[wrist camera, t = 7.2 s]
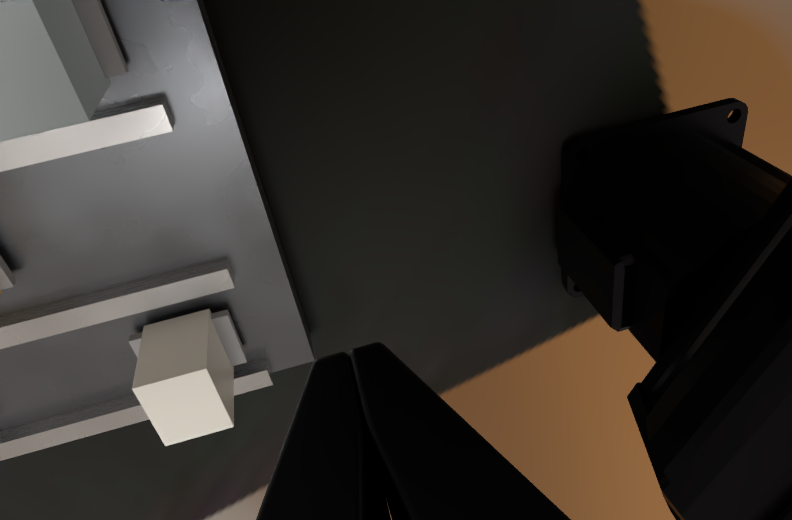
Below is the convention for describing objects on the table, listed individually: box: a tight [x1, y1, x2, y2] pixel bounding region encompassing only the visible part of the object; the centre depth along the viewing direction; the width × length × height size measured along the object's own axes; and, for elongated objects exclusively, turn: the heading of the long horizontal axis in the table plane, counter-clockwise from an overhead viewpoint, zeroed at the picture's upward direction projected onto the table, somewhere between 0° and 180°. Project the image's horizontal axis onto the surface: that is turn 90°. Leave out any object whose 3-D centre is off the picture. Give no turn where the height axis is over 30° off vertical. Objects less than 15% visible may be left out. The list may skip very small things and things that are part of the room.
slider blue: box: [0, 0, 128, 142], centre depth 13 cm, size 3×2×3 cm
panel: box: [0, 0, 315, 461], centre depth 17 cm, size 12×14×2 cm
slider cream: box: [128, 309, 247, 446], centre depth 18 cm, size 3×2×3 cm
